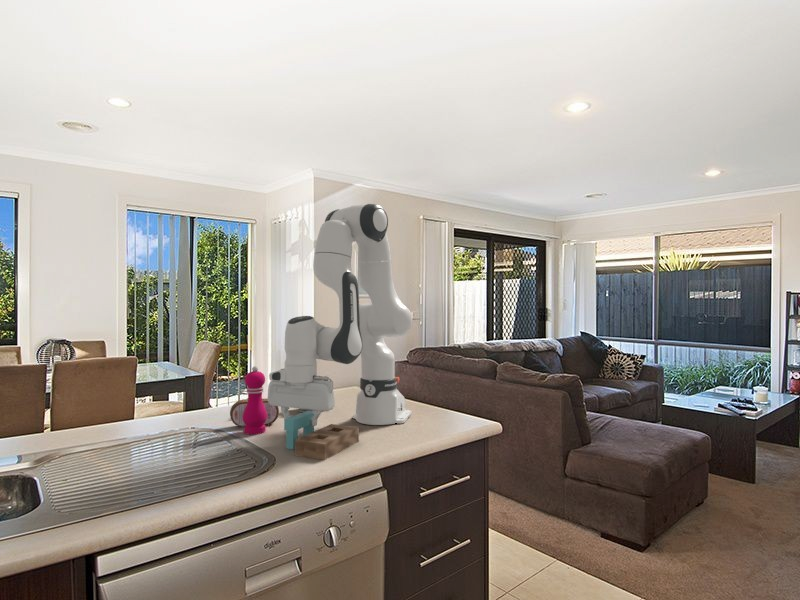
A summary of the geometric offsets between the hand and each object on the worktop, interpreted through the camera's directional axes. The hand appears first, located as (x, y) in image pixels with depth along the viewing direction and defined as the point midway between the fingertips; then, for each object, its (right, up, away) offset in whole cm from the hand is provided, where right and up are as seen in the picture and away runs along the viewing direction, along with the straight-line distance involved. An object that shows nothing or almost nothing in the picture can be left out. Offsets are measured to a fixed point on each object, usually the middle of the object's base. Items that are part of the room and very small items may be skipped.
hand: (300, 424), depth 140 cm
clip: (0, -6, 0) cm, 6 cm away
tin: (-19, -6, +20) cm, 28 cm away
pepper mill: (-16, -6, +12) cm, 21 cm away
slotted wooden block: (+8, -6, -4) cm, 11 cm away
